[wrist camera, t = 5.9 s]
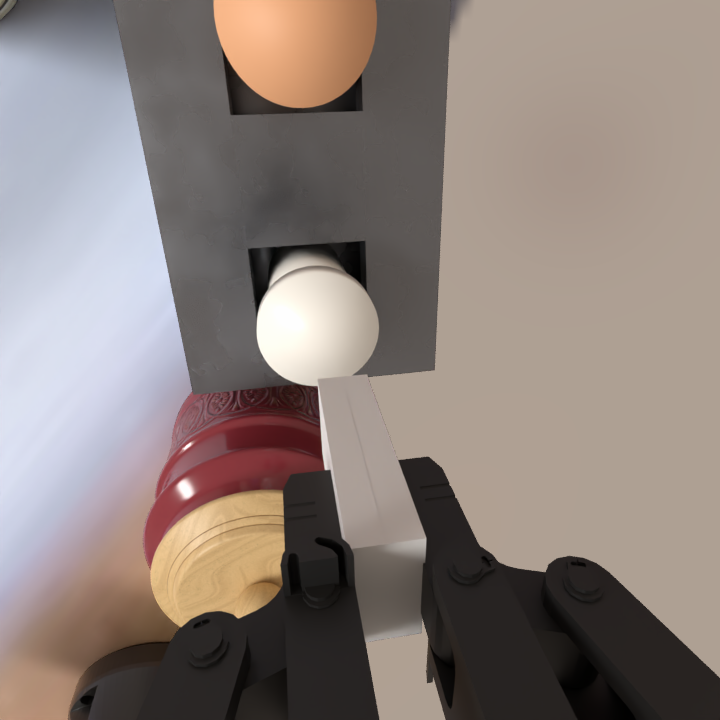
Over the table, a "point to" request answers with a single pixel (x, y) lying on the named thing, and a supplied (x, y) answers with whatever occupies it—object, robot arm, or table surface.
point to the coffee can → (6, 7)
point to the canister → (228, 498)
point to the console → (291, 182)
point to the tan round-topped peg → (297, 46)
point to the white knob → (314, 316)
